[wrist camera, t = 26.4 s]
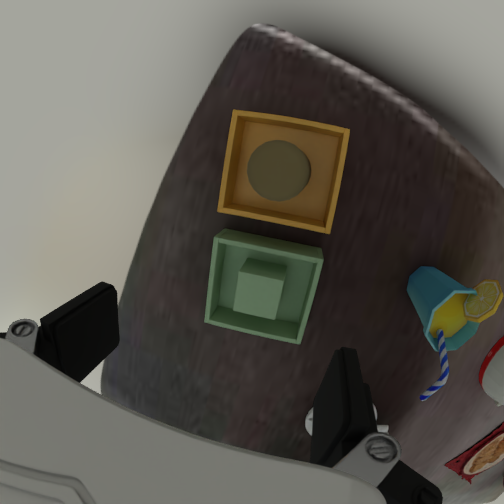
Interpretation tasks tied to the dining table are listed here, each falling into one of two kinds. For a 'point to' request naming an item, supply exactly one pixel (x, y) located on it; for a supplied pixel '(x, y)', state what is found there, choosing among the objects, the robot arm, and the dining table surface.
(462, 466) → the plate with food
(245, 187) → the ochre bin
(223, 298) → the green bin
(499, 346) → the kitchen timer
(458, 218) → the dining table surface
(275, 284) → the green block
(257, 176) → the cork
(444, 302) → the cup
